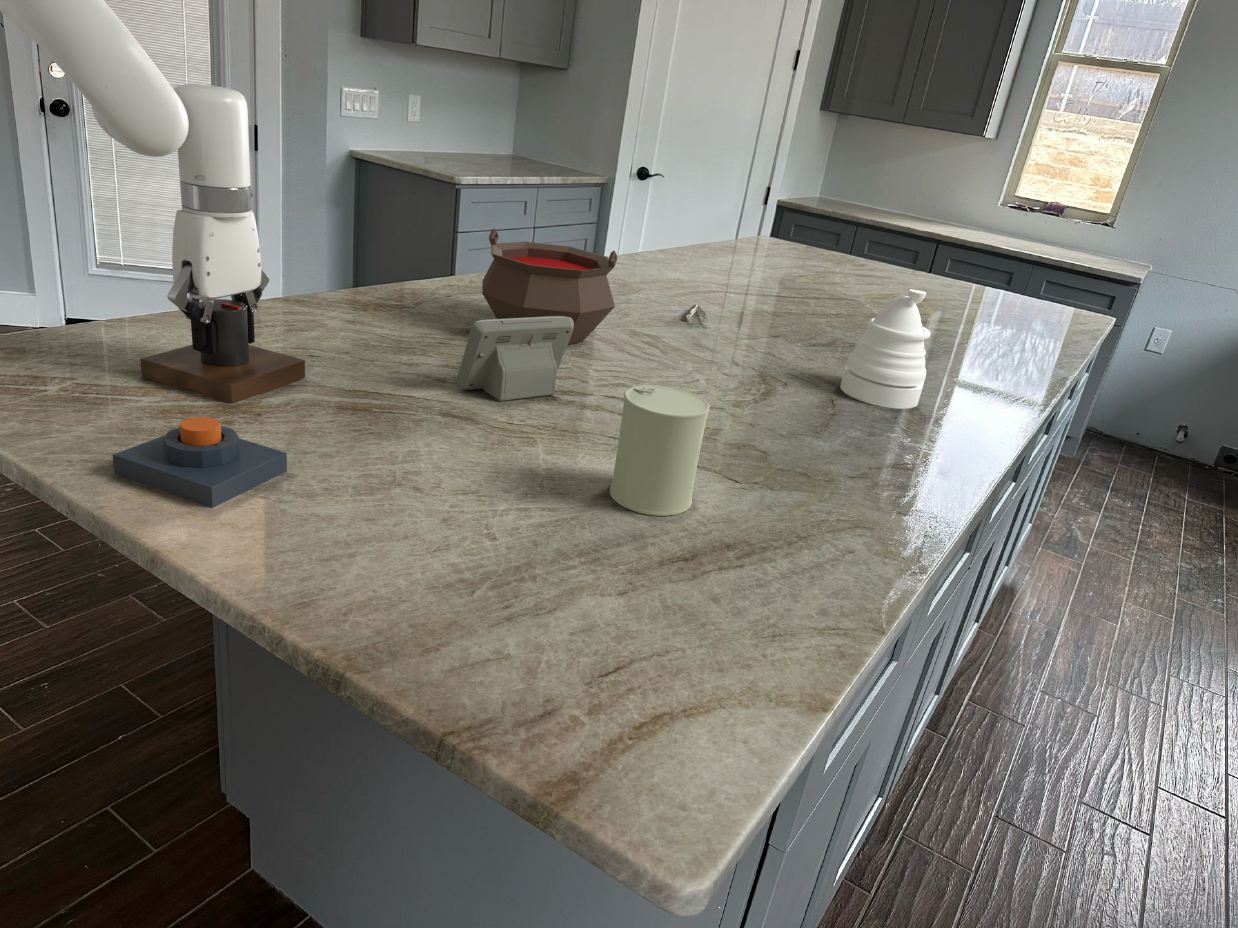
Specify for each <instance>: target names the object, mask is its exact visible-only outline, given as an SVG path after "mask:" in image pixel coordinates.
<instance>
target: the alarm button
mask: <svg viewBox="0 0 1238 928" xmlns="http://www.w3.org/2000/svg"><path fill="white" fill-rule="evenodd" d="M221 426H222V424H221V421H220V420H219V419H217V418H214V417H209V416H196V417H195V416H194V417H189V418H186V419H183V420H182V421H181V422H180V423H179V427H180V436H181V442H182V443H184V444H187V445H192V446H204V445H212V444H215V443H218V442H220V441H221V439H222V438H221Z"/></svg>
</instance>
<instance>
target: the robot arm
mask: <svg viewBox="0 0 1238 928" xmlns="http://www.w3.org/2000/svg"><path fill="white" fill-rule="evenodd" d="M0 13H1V14H3V16H5V18H6V19H8V20H9V21H10V22H11V23H12V24H13V25H14V26H16V27H17V28H18V29H19V30H20V31H22V32H23V33H25V35H27V36H28V37H29V38H30V40H32V41H33V42H35V44H37V46H38V47H40V48H41V49H42V51H44V52H45V54H46V55H47V56H48V57H49V58H50V59H51V60H52V61H53V62H54V63H55V65H56V66H57V67H58V68H59V69H60V70H61V71H62V72H63V73H64V75H65V76H66V77H67V78H68V79H69V81H70V82H71V83H72V84H73V85H74V86H75V87H76V89H77V90H78V91H79V92H80V93H81V94H82V95H83V97H84V98H85V99H86V101H87V102H88V103H89V104H90V105H91V110H92V114H93V117H94V119H95V120H96V122H97V124H98V126H100V129H102V131H103V132H104V133H106V134H107V135H108V136H109V137H110V138H112V139H113V140H114V141H116V142H118V143H119V144H121V145H122V146H124V147H125V148H127V149H128V150H130V151H132V152H134V153H136V154H139V155H141V156H145V157H152V158H161V157H165V156H169V155H171V154H173V153H174V152H177V160H178V172H179V173H178V175H179V189H180V201H181V209H177V210H176V213H175V216H174V223H173V231H172V245H171V246H172V250H171V254H172V255H171V256H172V257H171V258H172V259H171V260H172V263H171V264H172V267H171V268H172V283H173V285H172V286H171V288H170V289H169V291H168V293H167V296H166V297H167V299H168V301H169V302H171V303H172V304H173V305H175V307H177V308H178V309H179V311H181V312H182V313H183V314H184V315H185V318H186V319H187V320H190V328H191V343H192V344H191V345H193V349H194V350H196V351H200V352H203V353H207V354H210V355H212V354H215V353H216V352H217V346H216V329H215V323H213V322H210V320H211V316H212V311H213V307H214V302H215V299H223V298H228V297H230V299H231V300H234V301H239V302H242V303H244V304H246V305H247V319H248V343H249V344H254V343H255V341H256V334H255V314H254V313H256V312H257V311H258V308H259V306H258V302H259V301H260V299H261V298H262V295H263V292H264V290H265V289H266V288H267V286H268V284H269V282H270V277H269V276H268V275H267V274H266V272H265V271H264V270H263V268H262V257H261V245H260V239H259V231H258V225H257V222H256V217H255V213H254V211H252V197H253V195H254V191H253V189H252V186H251V163H250V162H251V161H250V137H249V136H250V134H249V109H248V102H247V99H246V97H245V96H244V94H242V93H241V92H240V91H238V90H236V89H233V88H230V87H225V86H224V87H223V86H217V85H209V84H202V83H201V84H200V83H184V84H178V83H172V82H169V81H168V80H167V79H166V78H167V77H165V76H164V74H163V73H162V72H161V71H160V69H159V68H158V66H157V65H156V63H154V61H153V60H152V58H151V57H150V56H149V55H148V53H147V52H146V50H145V49H144V48H143V47H142V45H141V44H140V43H139V42H138V40H137V39H136V38H135V36H134V35H133V34H132V33H131V31H130V30H129V29H128V28H127V26H126V25H125V24H124V23H123V22H122V21H121V19H120V18H119V17H118V15H117V14H116V13H115V11H113V9H112V8H111V7H110V6H109V4H107V2H106V1H105V0H0ZM188 294H189V295H188ZM202 301H203V305H202V310H201V309H200V308H199V307H198V306H199V302H202Z"/></svg>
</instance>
